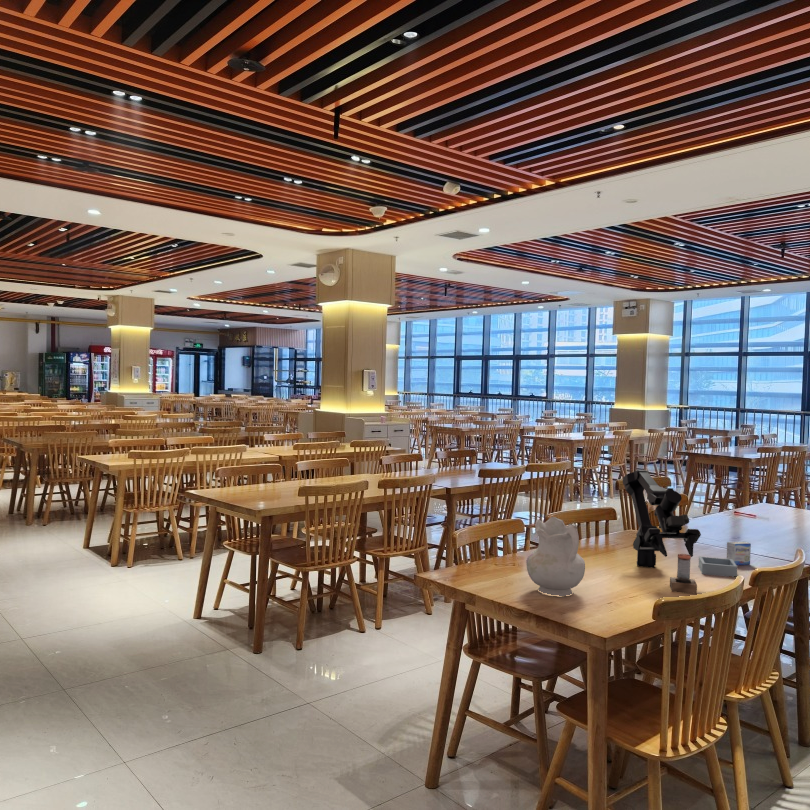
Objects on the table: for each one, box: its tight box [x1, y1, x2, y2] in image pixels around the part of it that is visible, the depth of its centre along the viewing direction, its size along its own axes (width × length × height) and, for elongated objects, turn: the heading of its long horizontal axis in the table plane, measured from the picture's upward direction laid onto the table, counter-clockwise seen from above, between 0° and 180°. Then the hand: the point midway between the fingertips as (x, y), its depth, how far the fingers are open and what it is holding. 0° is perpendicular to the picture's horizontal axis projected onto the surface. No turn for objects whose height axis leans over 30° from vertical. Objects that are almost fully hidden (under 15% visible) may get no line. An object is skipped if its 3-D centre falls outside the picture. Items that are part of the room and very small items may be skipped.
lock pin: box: [676, 553, 692, 584], centre depth 242 cm, size 4×4×12 cm
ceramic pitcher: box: [525, 516, 586, 596], centre depth 234 cm, size 22×20×25 cm
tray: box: [697, 555, 738, 578], centre depth 268 cm, size 12×12×4 cm
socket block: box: [669, 576, 698, 595], centre depth 242 cm, size 8×8×3 cm
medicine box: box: [726, 541, 752, 566], centre depth 282 cm, size 8×4×9 cm, turn 105°
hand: (679, 556), depth 246 cm, fingers open, 9 cm apart
